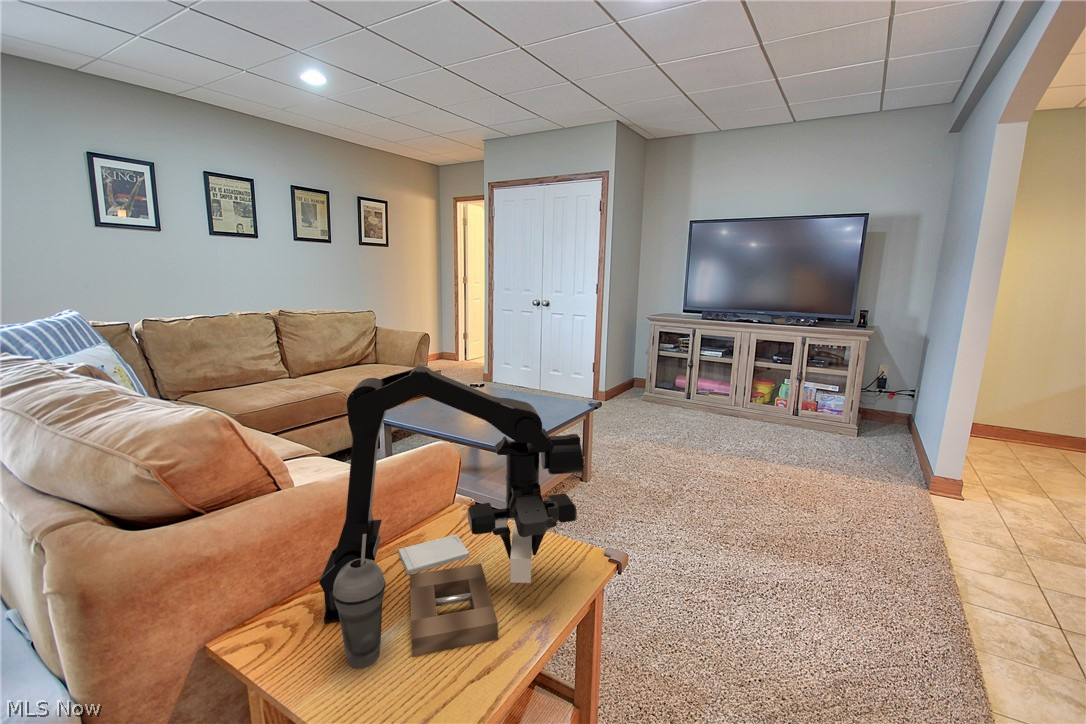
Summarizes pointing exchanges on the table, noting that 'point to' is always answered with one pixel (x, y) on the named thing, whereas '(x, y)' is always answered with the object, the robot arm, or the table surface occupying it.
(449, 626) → the brown square frame
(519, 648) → the table surface
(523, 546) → the cream block
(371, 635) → the beverage cup
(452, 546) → the hard drive
